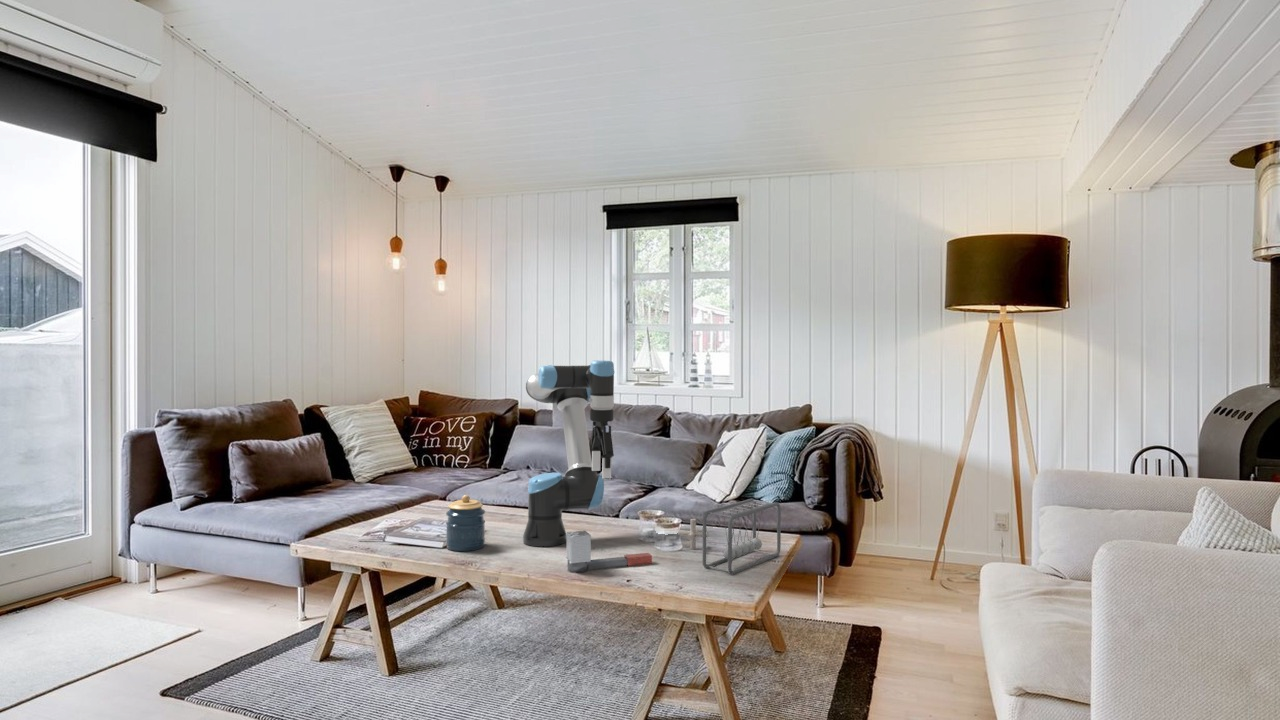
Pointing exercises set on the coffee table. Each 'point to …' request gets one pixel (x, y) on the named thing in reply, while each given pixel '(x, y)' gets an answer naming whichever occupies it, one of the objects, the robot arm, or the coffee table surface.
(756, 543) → the newton's cradle
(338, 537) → the coffee table surface
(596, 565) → the ratchet
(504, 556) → the coffee table surface
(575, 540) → the light grey block
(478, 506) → the canister
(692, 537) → the beige peg jack
